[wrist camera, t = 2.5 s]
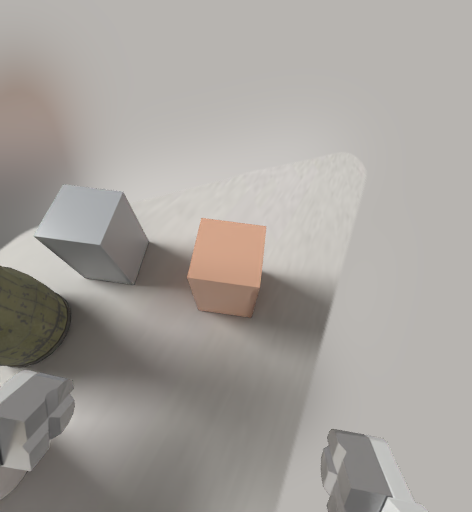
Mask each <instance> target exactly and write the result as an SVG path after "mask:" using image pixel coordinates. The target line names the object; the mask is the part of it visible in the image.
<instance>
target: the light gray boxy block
mask: <svg viewBox="0 0 472 512" xmlns="http://www.w3.org/2000/svg"><path fill="white" fill-rule="evenodd" d="M34 237H35V238H36V239H38V240H39V241H40V242H41V243H43V244H44V245H45V246H46V247H47V248H49V249H50V250H51V251H52V252H54V253H55V254H56V255H57V256H58V257H60V258H61V259H62V260H63V261H65V262H66V263H67V264H68V265H69V266H71V267H72V268H73V269H74V270H76V271H77V272H78V273H79V274H80V275H82V276H83V277H84V278H88V279H95V280H102V281H110V282H117V283H124V284H131V285H134V284H135V281H136V278H137V275H138V272H139V269H140V266H141V263H142V260H143V257H144V255H145V252H146V249H147V246H148V243H149V241H148V239H147V237H146V235H145V233H144V231H143V229H142V227H141V225H140V223H139V221H138V219H137V218H136V216H135V214H134V212H133V210H132V208H131V206H130V204H129V202H128V200H127V198H126V196H125V194H124V193H123V192H121V191H112V190H105V189H97V188H89V187H81V186H73V185H64V184H63V186H62V187H61V189H60V191H59V193H58V194H57V196H56V198H55V200H54V201H53V203H52V205H51V206H50V208H49V210H48V212H47V213H46V215H45V217H44V219H43V220H42V222H41V224H40V225H39V227H38V229H37V230H36V232H35V234H34Z"/></svg>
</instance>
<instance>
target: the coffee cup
mask: <svg viewBox="0 0 472 512" xmlns="http://www.w3.org/2000/svg"><path fill="white" fill-rule="evenodd" d="M26 472H27V471H26V470H20V469H14V468H8V467H3V466H1V469H0V500H1V499H3V498H4V497H6V496H7V495H8V494H9V493H10V492H12V491H13V490H14V489H15V488H16V486H17V485H18V484H19V483H20V481H21V480H22V479H23V477H24V475H25V474H26Z"/></svg>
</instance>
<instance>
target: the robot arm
mask: <svg viewBox="0 0 472 512" xmlns="http://www.w3.org/2000/svg"><path fill="white" fill-rule="evenodd" d="M73 389H74V387H73V380H70V379H67V378H63V377H58V376H54V375H49V374H45V373H39V372H35V371H30V370H23V371H20V372H18V373H17V374H16V375H14V376H13V377H12V378H11V379H9V380H8V381H7V382H6V383H4V384H3V385H2V386H1V387H0V469H1V466H3V467H8V468H14V469H20V470H26V471H32V470H33V469H34V467H35V466H36V465H37V464H38V462H39V461H40V460H41V458H42V457H43V456H44V455H45V453H46V452H47V451H48V450H49V448H50V440H51V439H52V438H54V437H56V436H58V435H59V434H61V433H62V432H63V430H64V429H65V428H66V426H67V425H68V423H69V421H70V419H71V417H72V415H73V412H74V407H75V402H74V399H73V397H72V396H71V395H70V392H71V391H72V390H73ZM327 439H328V443H329V446H327V447H326V448H324V449H323V453H322V457H321V477H322V483H323V487H324V489H325V490H326V491H327V493H328V494H329V495H330V497H329V500H328V503H327V509H328V512H429V511H428V510H427V509H426V508H425V507H424V506H423V505H422V504H420V503H416V502H415V500H414V498H413V496H412V494H411V492H410V490H409V487H408V485H407V483H406V481H405V479H404V477H403V475H402V473H401V470H400V468H399V466H398V464H397V462H396V460H395V458H394V456H393V453H392V451H391V449H390V447H389V445H388V443H387V441H386V440H385V439H384V438H379V437H374V436H368V435H364V434H358V433H353V432H347V431H342V430H336V429H331V430H330V431H329V434H328V437H327Z"/></svg>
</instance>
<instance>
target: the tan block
mask: <svg viewBox="0 0 472 512" xmlns="http://www.w3.org/2000/svg"><path fill="white" fill-rule="evenodd" d="M265 234H266V226H260V225H252V224H244V223H236V222H229V221H221V220H213V219H205V218H201V222H200V226H199V230H198V234H197V238H196V242H195V246H194V250H193V255H192V259H191V263H190V267H189V271H188V275H187V279H188V282H189V285H190V288H191V290H192V293H193V296H194V299H195V302H196V304H197V307H198V310H201V311H208V312H215V313H222V314H228V315H235V316H242V317H249V318H251V317H252V314H253V310H254V307H255V303H256V300H257V296H258V293H259V289H260V283H261V273H262V263H263V254H264V244H265Z"/></svg>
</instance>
